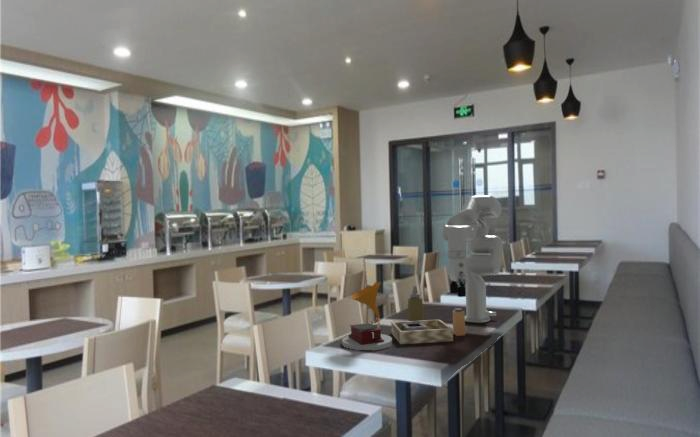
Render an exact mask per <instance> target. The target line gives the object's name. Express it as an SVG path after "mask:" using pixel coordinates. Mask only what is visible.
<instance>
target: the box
mask: <svg viewBox="0 0 700 437" xmlns="http://www.w3.org/2000/svg"><path fill="white" fill-rule="evenodd" d="M416 322H422V323H423V324H424V325H426V326H427V330H414V331H401V323H416ZM390 323H391V324H390V325H391V335H392V336H393V337H394V338H395V340H396V341H397V342H398V343H399V345H410V344H413V345H414V344H426V343H427V344H428V343H443V342H444V343H445V342H454V334H453V327H451V326H449V325H448V324H446V323H445V322H444V321H443V320H441V319H426V320H424V319H423V320H422V321H409V320H407V321H405V320H404V321H391V322H390Z"/></svg>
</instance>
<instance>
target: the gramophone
mask: <svg viewBox="0 0 700 437" xmlns="http://www.w3.org/2000/svg"><path fill="white" fill-rule="evenodd" d="M381 283H382V281H378V282H376V281H375V283H373V285H369V284H368V285H366V286H365V287H364V288H363V289H358V290H357V292H356V293H355V294H352V295H350V298H349V299H350V300H355V301H356V302H359V303H361V304H363V305H366V306H368V307H369V308H370V309H371V311H373V313H374V314H375V315H376V318H375V321H371V323H370V322H366V323H358V324H350V325H349V327H350V332H351V333H350V334H348V335H347V336H344V337H343V338H342V339H341V345H342V346H344V347H343V348H345V347H346V348H345V349H347V348H350V349H349V350H351V349H355V350H354V351H359V350H372V351H378V350H379V351H380V350H384V349H387V348H390V347H391V346H392V345H393V337H392V336H390V335H387V334H382V331H383V329H382V328H380V327H381V325H380V321H381V318H380V311H379V309H378V306H377V302H376V301H377V297H378V292H379V291H378V290H379V288H380V285H381ZM375 324H377V326H376V325H375Z"/></svg>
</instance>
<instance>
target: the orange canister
mask: <svg viewBox="0 0 700 437" xmlns="http://www.w3.org/2000/svg"><path fill="white" fill-rule="evenodd" d="M465 316H466V312H465V311H464V310H463V308H461V307H460V308H459V307H455V308H454V309H453V310H452V329H453V335H455V336H456V337H457V336H458V337H459V336H466V321H465Z"/></svg>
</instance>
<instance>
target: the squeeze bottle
mask: <svg viewBox="0 0 700 437" xmlns="http://www.w3.org/2000/svg"><path fill="white" fill-rule="evenodd" d="M412 287H413V288H412V292H410V294H409V296H410V297H409V298H408V300H407V314H406V317H407V319H408V320H407V321H422V320H424V318H425V312H424V304H423V298H421V294H420V293H419V292H418V289H417V285H413V286H412Z"/></svg>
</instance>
